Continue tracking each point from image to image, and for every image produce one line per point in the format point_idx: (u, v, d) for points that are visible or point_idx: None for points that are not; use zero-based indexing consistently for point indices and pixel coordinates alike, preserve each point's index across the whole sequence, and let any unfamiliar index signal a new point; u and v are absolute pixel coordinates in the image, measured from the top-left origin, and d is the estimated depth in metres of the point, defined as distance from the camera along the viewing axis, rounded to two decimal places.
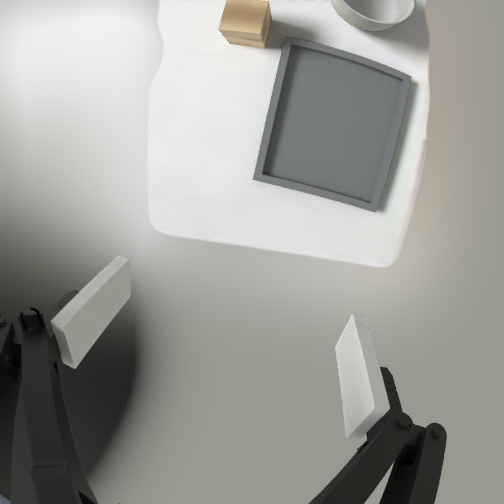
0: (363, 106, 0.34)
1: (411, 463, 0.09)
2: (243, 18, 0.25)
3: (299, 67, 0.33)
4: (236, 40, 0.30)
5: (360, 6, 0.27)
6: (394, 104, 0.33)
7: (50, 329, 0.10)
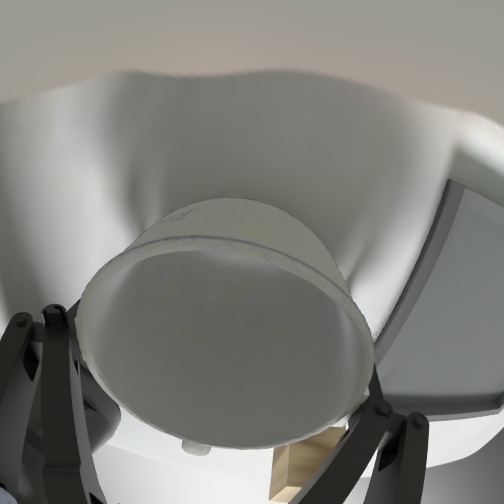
0: (489, 295, 0.14)
1: (395, 453, 0.09)
2: None
3: (394, 390, 0.18)
4: None
5: (246, 293, 0.15)
6: (500, 228, 0.12)
7: (72, 327, 0.11)
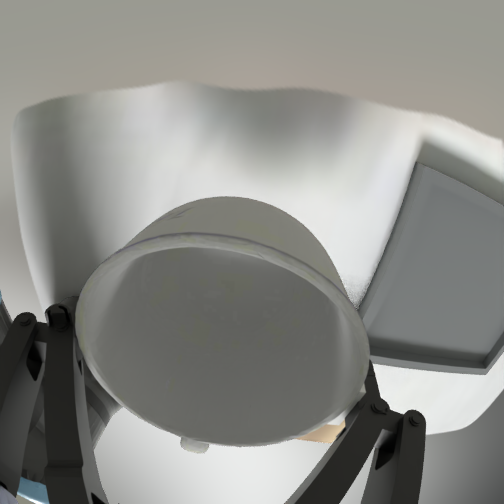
0: (459, 253, 0.20)
1: (392, 451, 0.09)
2: (323, 429, 0.22)
3: (388, 334, 0.24)
4: None
5: (244, 291, 0.16)
6: (461, 199, 0.18)
7: None
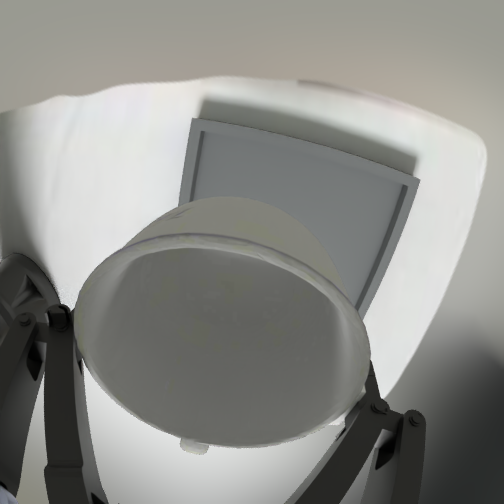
0: (258, 191, 0.26)
1: (392, 451, 0.09)
2: None
3: None
4: None
5: (244, 292, 0.15)
6: (247, 140, 0.24)
7: None
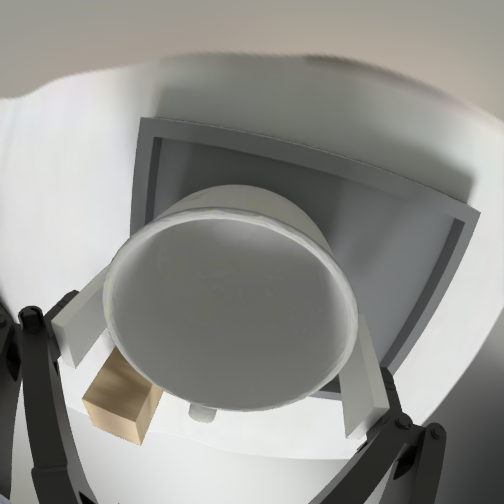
0: None
1: (411, 463, 0.09)
2: (117, 426, 0.19)
3: None
4: (154, 403, 0.24)
5: (249, 271, 0.18)
6: (226, 149, 0.16)
7: (50, 329, 0.10)
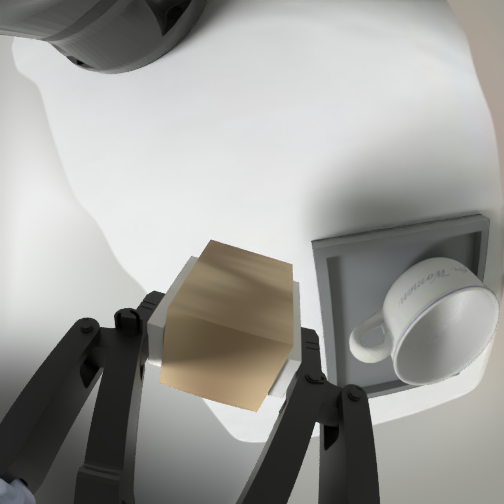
0: None
1: (339, 428, 0.10)
2: (231, 371, 0.12)
3: (346, 278, 0.26)
4: None
5: None
6: (470, 262, 0.23)
7: (142, 330, 0.12)
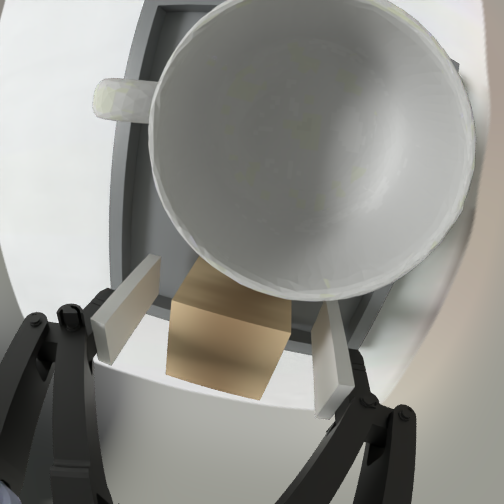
0: None
1: (383, 446, 0.10)
2: (233, 360, 0.12)
3: None
4: None
5: (298, 140, 0.14)
6: None
7: (88, 327, 0.11)
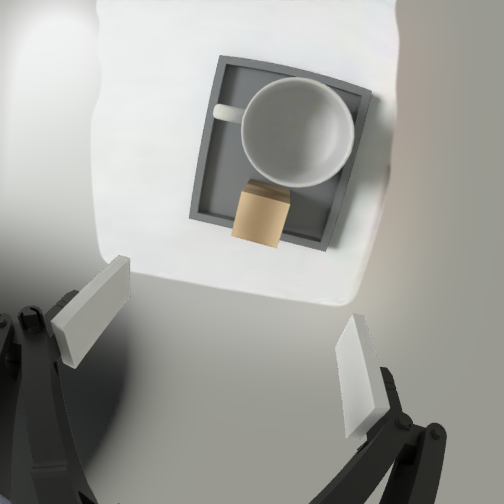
0: None
1: (411, 463, 0.09)
2: (265, 220, 0.30)
3: (237, 89, 0.30)
4: None
5: (291, 132, 0.31)
6: None
7: (50, 329, 0.10)
